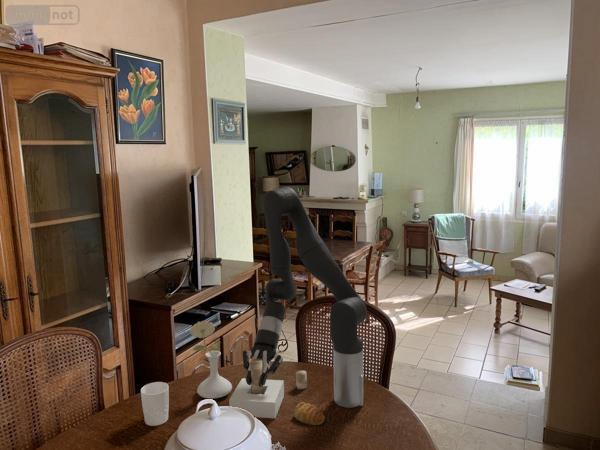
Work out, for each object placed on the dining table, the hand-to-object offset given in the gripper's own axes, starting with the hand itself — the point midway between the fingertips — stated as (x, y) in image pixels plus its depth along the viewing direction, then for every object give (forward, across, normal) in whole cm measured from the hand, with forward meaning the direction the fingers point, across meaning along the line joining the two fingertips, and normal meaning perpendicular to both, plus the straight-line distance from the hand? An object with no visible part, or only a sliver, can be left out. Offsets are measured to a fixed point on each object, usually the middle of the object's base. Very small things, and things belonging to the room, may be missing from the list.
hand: (254, 385), depth 140 cm
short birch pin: (-7, +10, +17) cm, 21 cm away
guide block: (+4, 0, +7) cm, 8 cm away
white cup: (+16, -25, -5) cm, 30 cm away
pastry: (+6, +18, +5) cm, 19 cm away
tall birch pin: (+3, 0, +6) cm, 6 cm away
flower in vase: (+3, -17, +8) cm, 19 cm away
